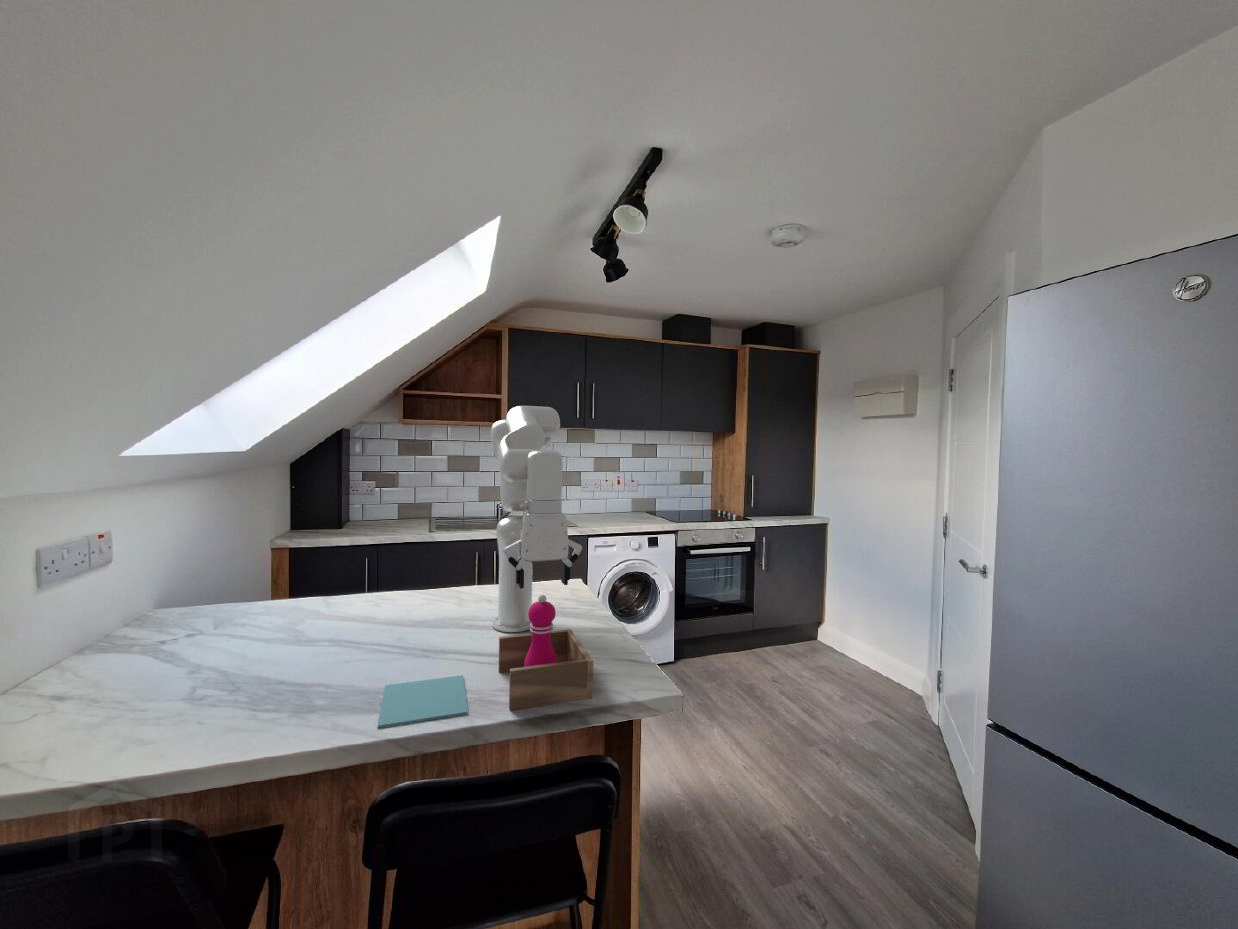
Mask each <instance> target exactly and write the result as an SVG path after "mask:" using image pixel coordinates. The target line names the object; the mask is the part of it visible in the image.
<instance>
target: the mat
mask: <svg viewBox="0 0 1238 929" xmlns="http://www.w3.org/2000/svg"><path fill="white" fill-rule="evenodd" d="M468 713H469V712H468V705H467V695H466V687H465V678H464V675H463V674H462V675H456V676H448V677H447V676H446V677H445V676H444V677H440V678H429V679H425V680H424V679H423V680H417V681H416V680H415V681H408V682H399V683H393V684H392V683H391V684H385V685H384V690H383V696H382V700H381V704H380V711H379V715H378V716H379V717H378V720H377V721H378V722H377V729H380V728H387V727H388V728H389V727H394V726H395V727H396V726H400V725H406V724H412V723H419V722H426V721H433V720H438V719H445V718H451V717H458V716H465V715H468Z"/></svg>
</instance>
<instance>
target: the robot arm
mask: <svg viewBox="0 0 1238 929" xmlns="http://www.w3.org/2000/svg"><path fill="white" fill-rule="evenodd" d="M560 428H561V420H560V415H559V413H558V411H556V409H554V408H553V407H550V406H540V405H539V406H535V405H518V406H515V407H512V408H511V409H510V410H509V411H508V412H507V414H506V419H501V420H498V421H495V422H494V423H493V424H492V426H491V429H490V440H491V441H490V442H491V446H492V449H493V453H494V455H495V458H496V461H497V464H498V467H499V488H500V491H499V492H500V503H501V508H502V509H503V510H504V512H508V513H523V515H522V516H519V515H518V516H517V515H516V516H515V515H514V516H508V517H505V518H502V519H501V520H500V521H498V523H497V525H496V530H495V532H496V539H497V540H496V542H497V548H498V606H497V608H498V614H497V615H498V616H497V617H495V618H494V619H493V621H492V627H493V628H494V629H495V630H497V631H499V632H503V633H520V632H526V631H529V630H530V628H531V627H530V624H531V623H532V622H531V621H530V620H529V618H528V611H529V608H530V607H531V605H532V604H533V562H550V561H551V562H552V561H553V562H554V561H562V564H561V569H560V570H561V572H560V577H561V578H560V582H561V583H562V585H564V586H568V585H569V581H571V567H572V566H573V564H574V563H575V562H576V561H577V560H578V559H579V556H580V555H581V552H582V550H583V546H582V545H581V544H580V543H577V542H575V541H574V540H572V539H569V532H568V521H567V517H566V513H564V512H563V511H562V508H563V507H562V506H563V505H562V504H563V502H562V501H563V466H564V465H563V456H562V454H561V453H560V452H558V451H556V450H552V449H547V448H549V447H550V446H551V445H552V443H553V442H554V440H555V439H556V438H557V436H558V435H559V432H560ZM569 547H570V548H572V549H573V552H572V553H571V554H570V555H569Z"/></svg>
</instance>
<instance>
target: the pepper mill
mask: <svg viewBox="0 0 1238 929" xmlns="http://www.w3.org/2000/svg"><path fill="white" fill-rule="evenodd" d="M537 600H538V601H535V602H533V603H532V605H531V607H530V608H529V611H528V618H529V620H530V621H531V622H532V623H531V624H530V627H531V628H530V629H529V630H530V632H531V633H532V643H531V646H530V649H529V651H528V653H527V655H526V658H525V663H524V667H528V666H535V665H543V664H551V663H557V658H556V654H555V652H554V649H553V647H552V644H551V631H554V628H553V626H554V623H553V621H554V619H555V618H556V607H555V606H554V605H553V604H552V603H551V601H550V602H549V601H547V597H546V595H544V594H540V595H538V598H537Z"/></svg>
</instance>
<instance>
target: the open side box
mask: <svg viewBox="0 0 1238 929" xmlns="http://www.w3.org/2000/svg"><path fill="white" fill-rule="evenodd" d="M531 643H532V632H531V633H529V632H528V633H521V634H512V635H503V636H498V673H507V672H509V688H508V690H509V691H508V692H509V693H508V694H509V695H508V698H509V700H508V708H509V711H516V710H522V709H523V710H524V709H528V708H529V709H530V708H534V707H535V708H536V707H542V706H548V705H554V704H555V705H556V704H562V703H566V702H573V701H579V700H586V699H587V700H588V699H592V698H593V690H594V689H593V688H594V686H593V683H594V659H593V658H592V656H591V655H590V654H589V652H588V651H587V649H586V648H585V646H584V645H583V644H582V643H581V641H580V640H579V639H578V637H577V636H576V634H575V633H574V631H573V630H572V629H571V628H569V629H559V630H552V631H551V644H552V647H553V649H554V652H555V654H556V658H557V663H551V664H543V665H535V666H528V667H524V663H525V658H526V655H527V653H528V651H529V649H530V646H531Z"/></svg>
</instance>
